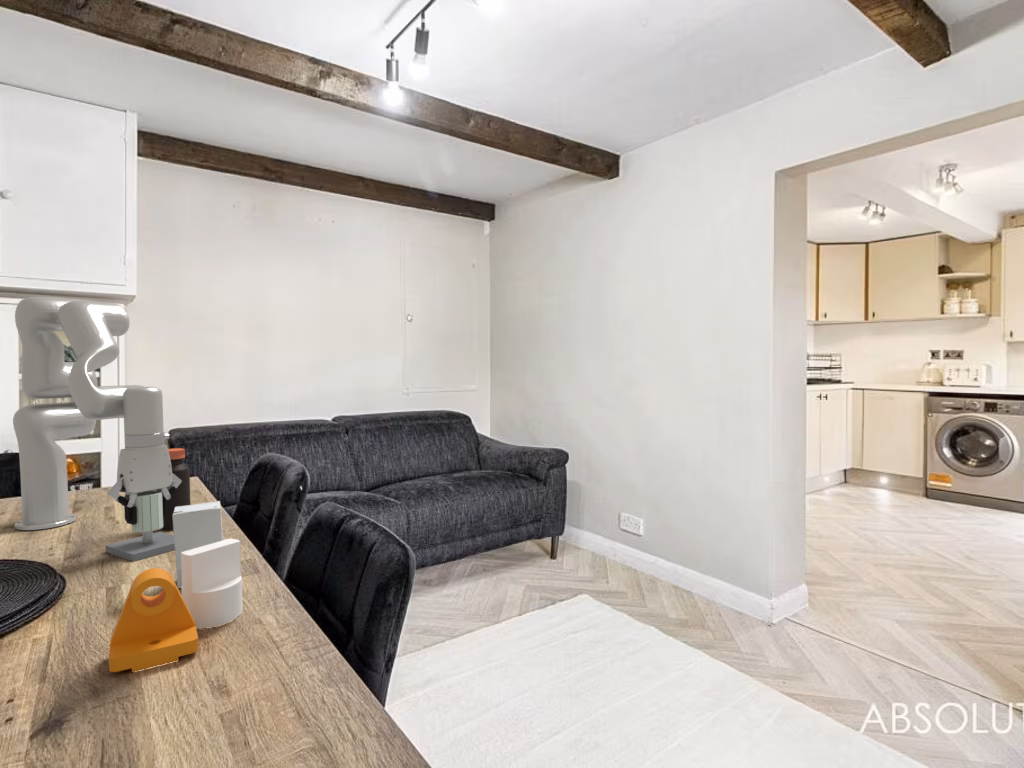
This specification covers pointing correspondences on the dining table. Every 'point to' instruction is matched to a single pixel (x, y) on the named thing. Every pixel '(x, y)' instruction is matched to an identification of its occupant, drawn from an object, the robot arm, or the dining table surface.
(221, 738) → the dining table surface
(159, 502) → the sage tube
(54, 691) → the dining table surface
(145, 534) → the roll stand
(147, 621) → the bracket
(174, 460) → the bottle
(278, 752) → the dining table surface
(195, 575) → the cylinder with rectangular tab
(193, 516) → the skincare box
